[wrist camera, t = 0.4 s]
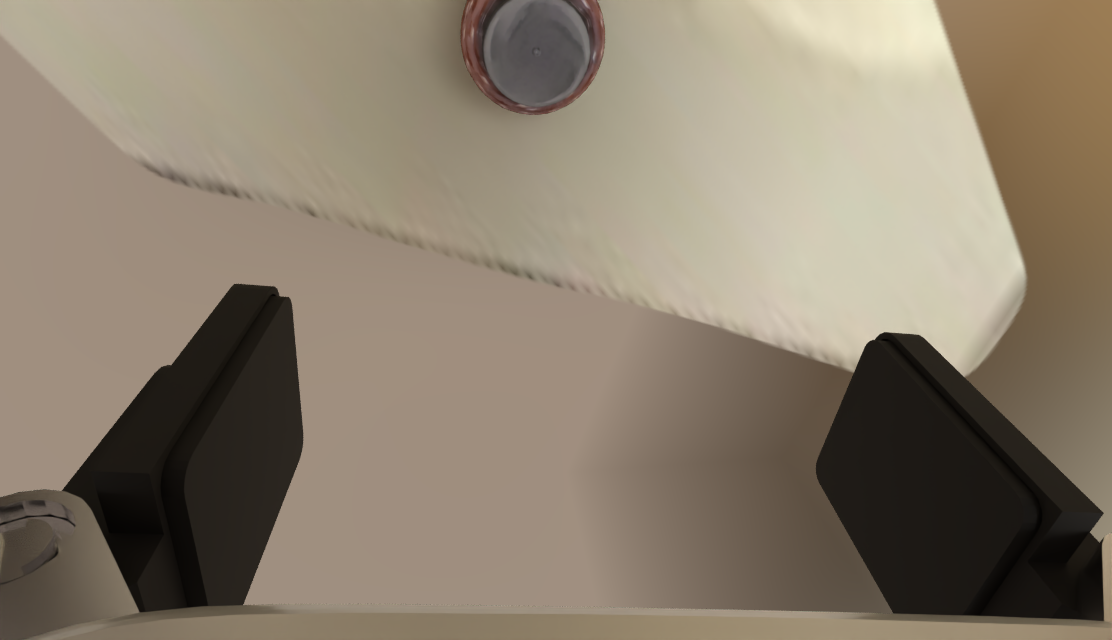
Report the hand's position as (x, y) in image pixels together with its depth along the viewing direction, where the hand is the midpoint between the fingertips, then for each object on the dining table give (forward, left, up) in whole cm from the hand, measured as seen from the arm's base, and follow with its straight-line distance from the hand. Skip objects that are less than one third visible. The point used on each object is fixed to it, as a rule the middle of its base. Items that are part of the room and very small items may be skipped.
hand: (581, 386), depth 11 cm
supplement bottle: (-3, 0, -29) cm, 29 cm away
